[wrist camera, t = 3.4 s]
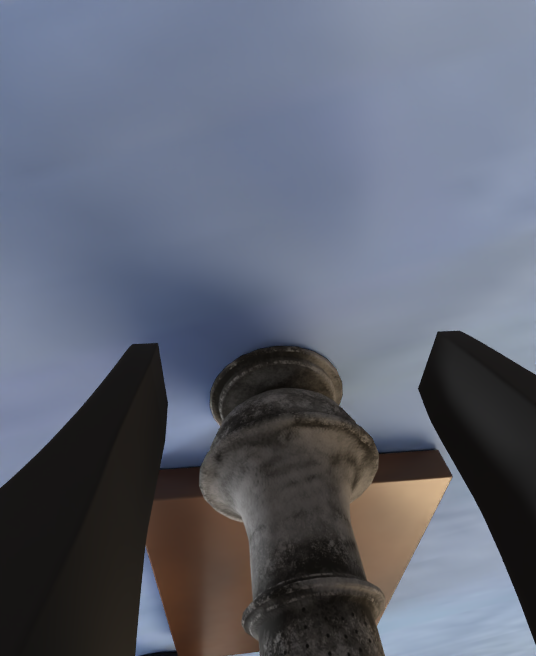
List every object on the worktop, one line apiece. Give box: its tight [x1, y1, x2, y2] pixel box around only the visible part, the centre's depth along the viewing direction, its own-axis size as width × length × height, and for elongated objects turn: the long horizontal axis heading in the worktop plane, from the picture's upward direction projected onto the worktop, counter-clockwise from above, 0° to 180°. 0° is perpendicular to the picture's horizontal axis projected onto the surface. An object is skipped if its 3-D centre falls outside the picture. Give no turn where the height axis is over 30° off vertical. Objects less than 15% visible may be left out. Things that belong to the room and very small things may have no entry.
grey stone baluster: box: [199, 346, 386, 656], centre depth 11 cm, size 6×6×12 cm
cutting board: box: [145, 450, 452, 656], centre depth 23 cm, size 14×20×2 cm
